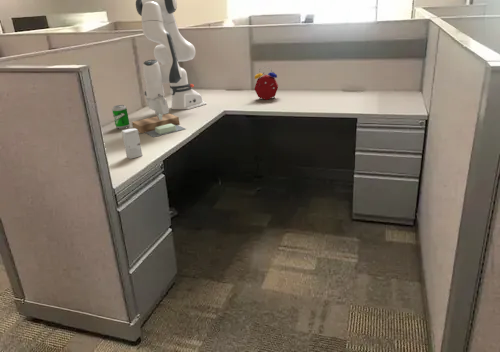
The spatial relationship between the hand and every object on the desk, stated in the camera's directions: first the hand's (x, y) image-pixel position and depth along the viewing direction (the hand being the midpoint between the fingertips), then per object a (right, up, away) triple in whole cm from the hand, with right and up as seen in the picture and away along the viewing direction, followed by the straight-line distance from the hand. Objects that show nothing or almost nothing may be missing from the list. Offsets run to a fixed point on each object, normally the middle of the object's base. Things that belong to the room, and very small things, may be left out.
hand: (160, 119), depth 219 cm
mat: (+3, -6, -1) cm, 7 cm away
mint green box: (+3, -5, -3) cm, 7 cm away
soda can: (-23, -3, +12) cm, 26 cm away
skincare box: (-4, -21, -34) cm, 40 cm away
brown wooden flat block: (-4, -3, +8) cm, 9 cm away
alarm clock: (+58, +19, +47) cm, 77 cm away
